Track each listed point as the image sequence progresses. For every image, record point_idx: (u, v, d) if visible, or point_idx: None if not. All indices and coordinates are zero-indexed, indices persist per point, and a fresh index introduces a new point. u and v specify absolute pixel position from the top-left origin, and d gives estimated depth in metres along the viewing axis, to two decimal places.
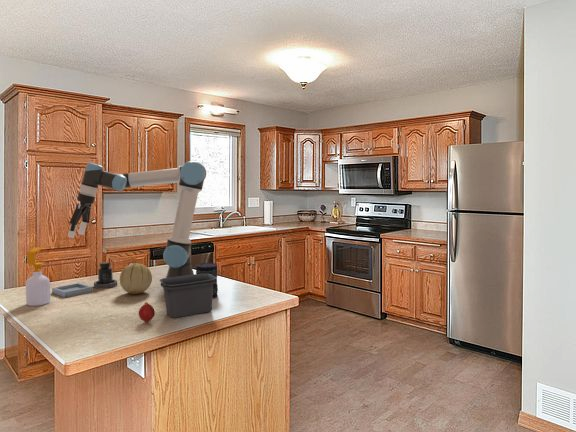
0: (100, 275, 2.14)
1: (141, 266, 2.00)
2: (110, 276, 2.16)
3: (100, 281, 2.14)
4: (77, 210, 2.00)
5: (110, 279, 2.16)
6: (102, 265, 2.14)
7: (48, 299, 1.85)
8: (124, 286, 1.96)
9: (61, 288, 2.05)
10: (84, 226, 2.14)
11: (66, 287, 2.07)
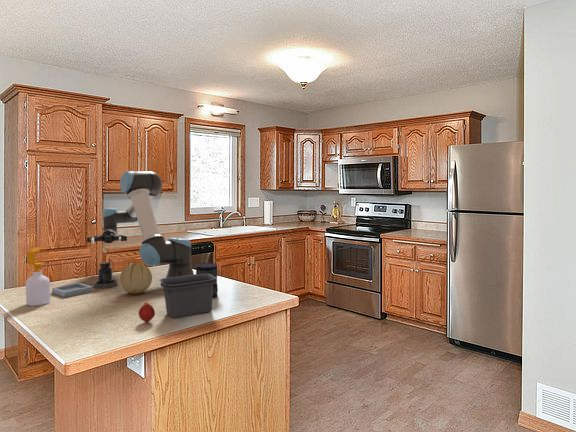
0: (100, 275, 2.14)
1: (141, 266, 2.00)
2: (110, 276, 2.16)
3: (100, 281, 2.14)
4: None
5: (110, 279, 2.16)
6: (102, 265, 2.14)
7: (48, 299, 1.85)
8: (124, 286, 1.96)
9: (61, 288, 2.05)
10: (119, 238, 2.31)
11: (66, 287, 2.07)
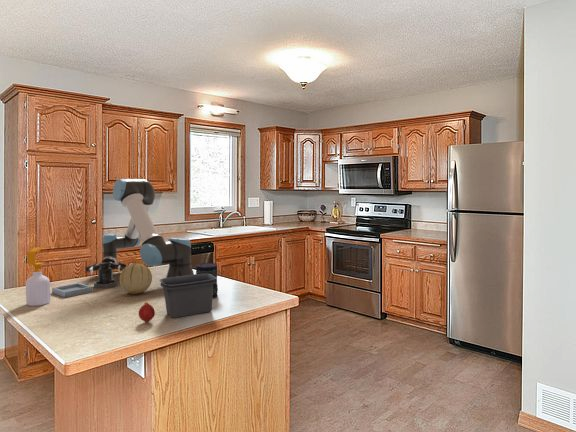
0: (100, 275, 2.14)
1: (141, 266, 2.00)
2: (110, 276, 2.16)
3: (100, 281, 2.14)
4: None
5: (110, 279, 2.16)
6: (102, 265, 2.14)
7: (48, 299, 1.85)
8: (124, 286, 1.96)
9: (61, 288, 2.05)
10: (118, 267, 2.26)
11: (66, 287, 2.07)
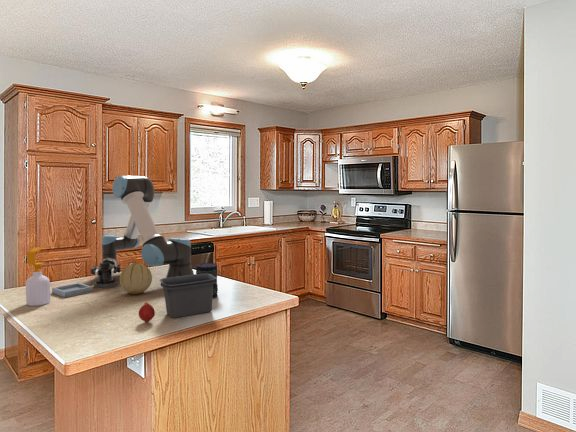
0: (100, 275, 2.14)
1: (141, 266, 2.00)
2: (110, 276, 2.16)
3: (100, 281, 2.14)
4: None
5: (110, 279, 2.16)
6: (102, 265, 2.14)
7: (48, 299, 1.85)
8: (124, 286, 1.96)
9: (61, 288, 2.05)
10: (112, 270, 2.17)
11: (66, 287, 2.07)
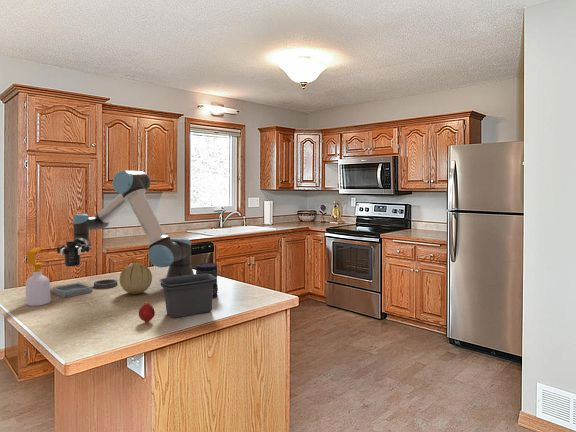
0: (66, 254, 2.01)
1: (141, 266, 2.00)
2: (77, 255, 2.03)
3: (66, 260, 2.01)
4: None
5: (77, 258, 2.03)
6: (68, 243, 2.01)
7: (48, 299, 1.85)
8: (124, 286, 1.96)
9: (61, 288, 2.05)
10: None
11: (66, 287, 2.07)
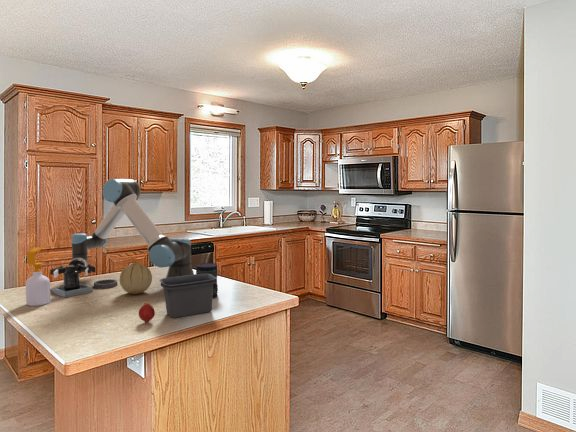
0: (65, 279, 2.00)
1: (141, 266, 2.00)
2: (76, 280, 2.02)
3: (65, 286, 2.01)
4: None
5: (76, 283, 2.02)
6: (68, 268, 2.01)
7: (48, 299, 1.85)
8: (124, 286, 1.96)
9: (61, 288, 2.05)
10: (86, 269, 2.06)
11: None
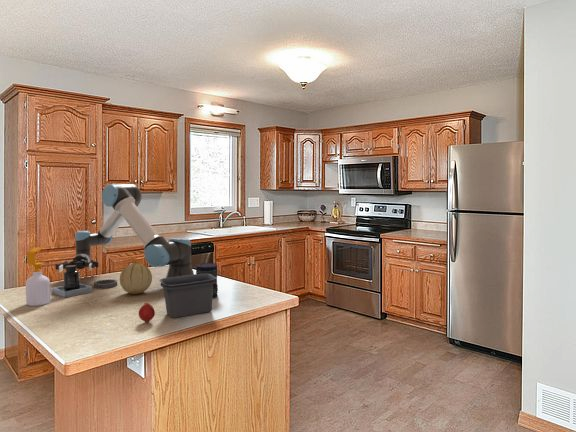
0: (65, 279, 2.00)
1: (141, 266, 2.00)
2: (76, 280, 2.02)
3: (65, 286, 2.01)
4: None
5: (76, 283, 2.02)
6: (68, 268, 2.01)
7: (48, 299, 1.85)
8: (124, 286, 1.96)
9: (61, 288, 2.05)
10: None
11: None
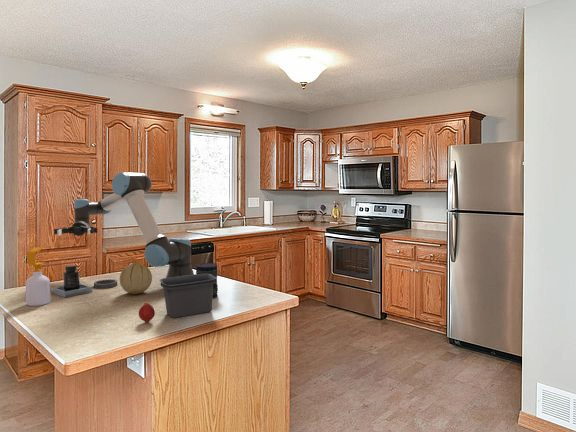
0: (65, 279, 2.00)
1: (141, 266, 2.00)
2: (76, 280, 2.02)
3: (65, 286, 2.01)
4: None
5: (76, 283, 2.02)
6: (68, 268, 2.01)
7: (48, 299, 1.85)
8: (124, 286, 1.96)
9: (61, 288, 2.05)
10: None
11: None
